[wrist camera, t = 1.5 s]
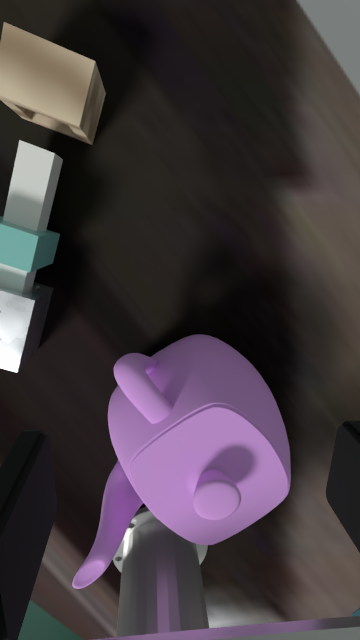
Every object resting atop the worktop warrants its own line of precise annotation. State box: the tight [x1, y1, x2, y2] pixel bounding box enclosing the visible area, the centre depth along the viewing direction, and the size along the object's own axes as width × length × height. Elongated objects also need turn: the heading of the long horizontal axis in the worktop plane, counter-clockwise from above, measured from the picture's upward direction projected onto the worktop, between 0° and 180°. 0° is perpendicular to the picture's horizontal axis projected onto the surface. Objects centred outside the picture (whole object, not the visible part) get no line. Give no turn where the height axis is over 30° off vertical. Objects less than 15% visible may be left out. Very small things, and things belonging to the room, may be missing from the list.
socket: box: [0, 22, 106, 145], centre depth 27 cm, size 4×6×6 cm
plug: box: [0, 141, 63, 295], centre depth 30 cm, size 18×5×7 cm, turn 161°
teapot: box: [72, 334, 291, 589], centre depth 32 cm, size 23×21×15 cm
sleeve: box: [0, 282, 54, 372], centre depth 32 cm, size 7×6×6 cm
